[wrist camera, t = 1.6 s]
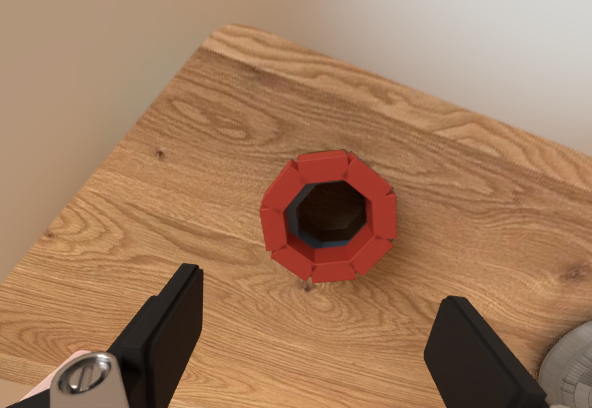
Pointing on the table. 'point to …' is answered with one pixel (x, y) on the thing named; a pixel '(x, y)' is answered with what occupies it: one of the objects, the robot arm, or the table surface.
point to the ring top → (331, 260)
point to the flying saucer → (569, 369)
